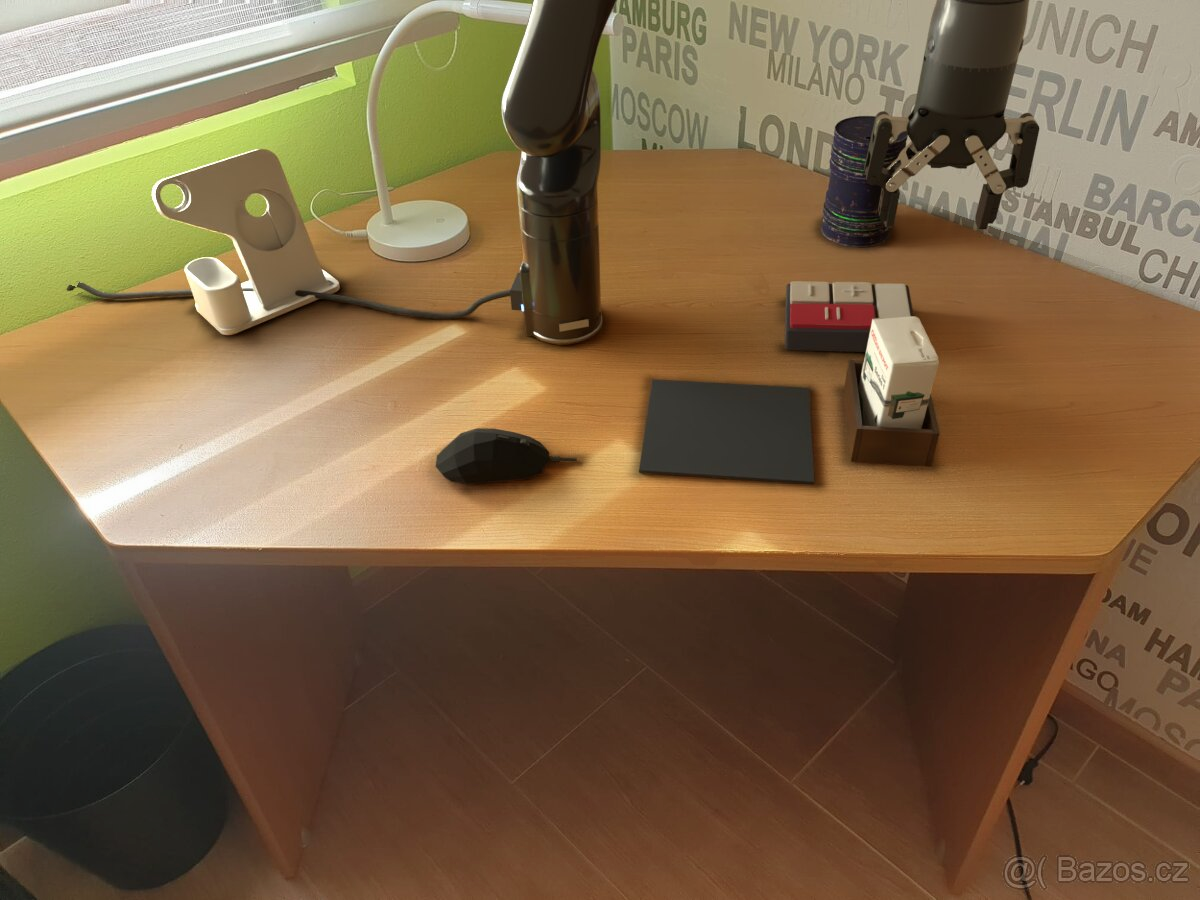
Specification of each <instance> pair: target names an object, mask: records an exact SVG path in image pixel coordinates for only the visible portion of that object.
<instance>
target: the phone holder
mask: <svg viewBox="0 0 1200 900" xmlns="http://www.w3.org/2000/svg"><path fill="white" fill-rule="evenodd" d="M169 185H173V186H176V187H178V188H179V190H181V192H182V194H183V199H182V202H181V204H179V205H178V206H176V207H171V206H168V205H167V204H165V202H164V201H163V199H162V197H161V196H162V195H161V193H162V190H163V189H164V187H166V186H169ZM252 195H259V196H261V197H262V198H263V199H264V200H265V202H266V210H265V212H264V214H262V215H259V216H255V215H253V214H251V213H250V212H248V209H247V208H246V202H247V201H248V199H249V197H251V196H252ZM151 198H152V201H153V204H154V206H155V208H156V211H157V212H158V213H159V215H160V216H162V217H163V218H164V219H168V220H171V221H173V222H174V221H175V222H178V223H182V224H184V225H188V226H192V227H195V228H198V229H203V230H207V231H210V232H214V233H216V234H220V235H225V236H226V237H228V238H229V239H230V240H232V243H233V246H234V247H235V250H236V253H237V255H238V257H239V260H240V262H241V264H242V266H243V269H244V271H245V274H246V276H247V278H248V280H247V281H243V282H242V283H241V280H240V277H239V276H238V274H236V273H235V272H234V271H233V270H231V269H230V268H229V267H228V266H227V265H225V264H224V263H223V262H222V261H221V260H219V259H218V258H215V257H211V256H209V257H208V256H207V257H200V258H196V259H193V260H192V261H190V262H189V263H187V264H186V265H185V266H184V274H185V276H186V279H187V282H188V284H189V288H190V289H191V291H192V293H193V295H192V296H193V299H194V301H195V304H194V307H195V308H196V311H197V312H198V314H200V315H201V316H202V317H203V318H204V319H205V320H206V321H207V322H208V323H209V324H210V325H211V326H212V327H214V329H216V330H217V332H219V333H220V334H221V335H223V336H233V335H236V334H238V333H241V332H242V331H243V332H244V331H245V330H248V329H250V328H253V327H255V326H257V325H260V324H261V323H264V322H267V321H270V320H272V319H274V318H277V317H279V316H281V315H284V314H287V313H289V312H291V311H293V310H296V309H298V308H301V307H303V306H305V305H308V304H311V303H313V302H316V301H318V300H320V299H319V298H315V296H313V295H308V296H305V297H302V296H297V295H295V292H296V291H297V290H302V291H311V292H319V293H327V294H335V293H337V292H338V291H339V290H340V288H341V286H340V281H339V280H338V279H337V278H335V277H333V276H332V275H331V274H329V273H328V272H327V271H325V270H324V269H323V268H322V265H321V263H320V260H319V257H318V255H317V252H316V250H315V248H314V245H313V243H312V240H311V238H310V235H309V232H308V230H307V227H306V225H305V223H304V220H303V217H302V214H301V212H300V210H299V207H298V205H297V204H298V203H297V201H296V200H295V197H294V194H293V192H292V189H291V187H290V184H289V182H288V179H287V177H286V174H285V171H284V169H283V165H282V164H281V161H280V158H279V157H278V156H277V155H276V154H275V153H274V152H273V151H272V150H269V149H266V148H258V149H253V150H250V151H246V152H244V153H240V154H238V155H237V154H236V155H234V156H231V157H228V158H225V159H221V160H219V161H215V162H212V163H209V164H206V165H202V166H199V167H197V168H193V169H190V170H187V171H184V172H181V173H178V174H175V175H172V176H168V177H166V178H162V179H160V180H158V181H157V182H156V183H155V184H154V185H153V187H152V191H151ZM242 288H253V290H254V292H251V291H243V289H242Z"/></svg>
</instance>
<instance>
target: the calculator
mask: <svg viewBox="0 0 1200 900" xmlns="http://www.w3.org/2000/svg"><path fill="white" fill-rule="evenodd" d="M784 308H785V309H784V310H785V311H784V315H785V316H784V317H785V318H784V350H786V351H805V352H807V351H809V352H810V351H811V352H847V353H848V352H852V353H866V349H867V344H868V339H869V334H870V329H871V324H872V319H876V318H890V317H910V316H914V310H913V304H912V299H911V293H910V287H909V285H908V284H905V283H872V282H869V281H833V282H832V283H829V281H803V280H802V281H801V280H799V281H798V280H797V281H796V280H795V281H794V280H793V281H791V282H790V283H787V284H786V288H785V307H784ZM914 317H915V316H914Z"/></svg>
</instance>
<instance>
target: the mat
mask: <svg viewBox="0 0 1200 900" xmlns="http://www.w3.org/2000/svg"><path fill="white" fill-rule="evenodd" d="M650 386H651V387H650V392H649V397H648V404H647V412H646V420H645V427H644V432H643V440H642V446H641V454H640V461H639V467H638V473H639V474H649V475H662V476H663V475H666V476H681V477H692V478H693V477H695V478H708V479H709V478H710V479H725V480H741V481H754V482H755V481H757V482H769V483H771V482H773V483H788V484H801V485H815V483H816V480H815V479H816V478H815V465H814V449H813V432H812V431H813V430H812V415H811V398H810V388H809V387H801V386H785V385H767V384H748V383H747V384H745V383H729V382H712V381H711V382H710V381H709V382H708V381H694V380H693V381H690V380H674V379H673V380H672V379H658V378H657V379H654V378H653V379H652V380H651V385H650Z"/></svg>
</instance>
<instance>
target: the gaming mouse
mask: <svg viewBox="0 0 1200 900" xmlns="http://www.w3.org/2000/svg"><path fill="white" fill-rule="evenodd" d="M549 462H550V463H551V462H554V463H561V462H578V458H577V457H569V456H567V457H564V456H563V457H562V456H561V455H550V451H549V450H548V449H547V448H546V447H545V446H544V444H543V443H542V442H540V441H539V440H537V439H535V438H533V437H531V436H529V435H525V434H522V433H519V432H515V431H510V430H504V429H499V428H492V427H491V428H488V427H487V428H485V427H477V428H473V429H470V430H467V431H463V432H460V433H459V434H458V435H457V436H456V437H455V438H454V439H453V440H451V441H450V442H449V443H448V444H447V445H446V446H445V447H444V448H443V449H442V450H441V451H439V453H438V454H437V455H436V459H435V468H436V469H437V470H438V471H439V473H440V474H441V475H442V476H443V478H445V479H446V480H448V481H450V482H451V483H452V482H453V483H458V484H465V485H474V484H476V485H477V484H487V483H497V482H499V483H500V482H511V481H512V482H513V481H521V480H528V479H531V478H533V477H536V476H538V475H540V474H542V473H543V471H544V470H545V469H546V467H547V465H548V464H549Z"/></svg>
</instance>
